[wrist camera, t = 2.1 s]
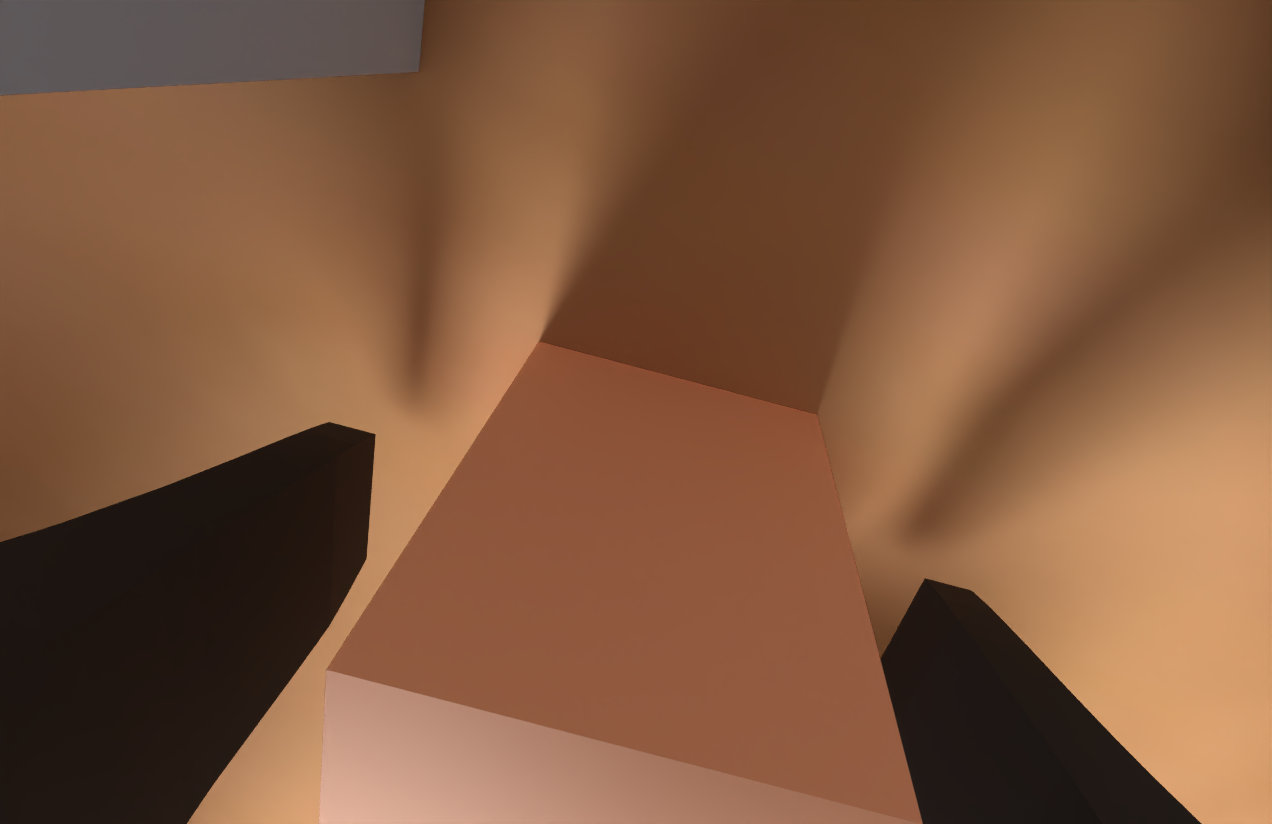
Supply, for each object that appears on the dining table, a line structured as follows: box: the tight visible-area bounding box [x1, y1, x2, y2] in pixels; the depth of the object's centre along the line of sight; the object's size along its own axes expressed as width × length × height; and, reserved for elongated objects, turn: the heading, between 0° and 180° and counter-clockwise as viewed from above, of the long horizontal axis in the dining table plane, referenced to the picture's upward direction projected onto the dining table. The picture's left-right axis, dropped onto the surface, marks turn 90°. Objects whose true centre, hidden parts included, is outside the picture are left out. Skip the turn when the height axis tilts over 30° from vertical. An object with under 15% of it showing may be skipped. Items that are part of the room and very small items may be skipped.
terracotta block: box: [319, 341, 923, 824], centre depth 8 cm, size 4×4×6 cm
